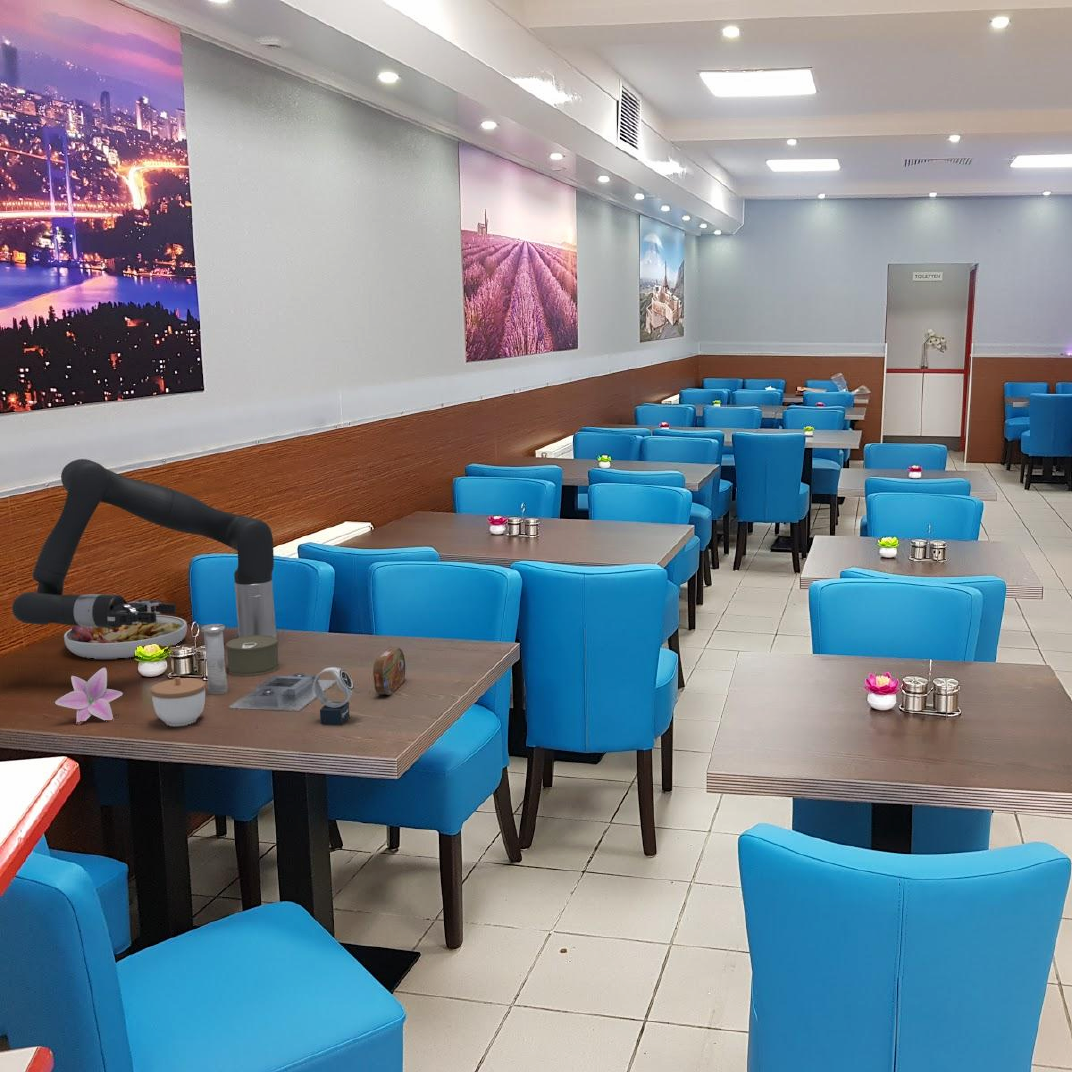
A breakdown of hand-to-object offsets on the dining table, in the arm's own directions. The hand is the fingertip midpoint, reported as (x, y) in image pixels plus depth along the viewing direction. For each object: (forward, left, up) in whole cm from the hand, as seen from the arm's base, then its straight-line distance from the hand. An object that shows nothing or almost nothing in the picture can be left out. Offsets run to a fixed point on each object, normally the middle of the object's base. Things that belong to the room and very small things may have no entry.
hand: (165, 613), depth 261 cm
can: (-18, +11, -18) cm, 28 cm away
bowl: (-34, -32, -18) cm, 50 cm away
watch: (+15, +45, -18) cm, 51 cm away
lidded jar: (+20, +13, -18) cm, 30 cm away
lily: (+21, -7, -18) cm, 28 cm away
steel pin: (0, +11, -18) cm, 21 cm away
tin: (-7, +49, -18) cm, 53 cm away
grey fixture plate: (0, +27, -18) cm, 32 cm away
